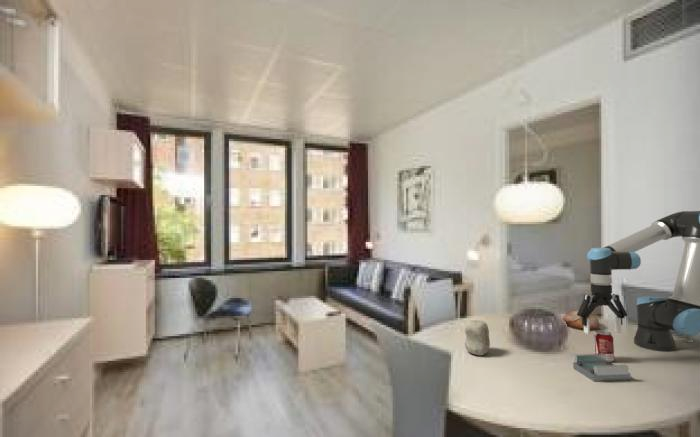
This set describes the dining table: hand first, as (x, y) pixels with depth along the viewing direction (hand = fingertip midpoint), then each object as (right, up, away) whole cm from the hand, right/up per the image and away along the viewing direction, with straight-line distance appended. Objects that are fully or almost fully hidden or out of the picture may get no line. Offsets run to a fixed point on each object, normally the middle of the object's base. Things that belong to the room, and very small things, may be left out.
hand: (602, 332), depth 153 cm
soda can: (+1, -12, 0) cm, 12 cm away
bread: (+22, -12, +47) cm, 53 cm away
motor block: (-10, -12, -13) cm, 20 cm away
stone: (-49, -14, +14) cm, 53 cm away
